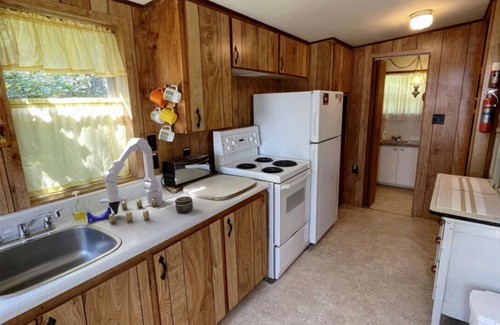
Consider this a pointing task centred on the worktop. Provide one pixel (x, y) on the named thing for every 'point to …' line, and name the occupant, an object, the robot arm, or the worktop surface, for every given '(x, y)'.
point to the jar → (184, 205)
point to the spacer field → (129, 214)
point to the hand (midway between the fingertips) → (116, 213)
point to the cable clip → (97, 218)
